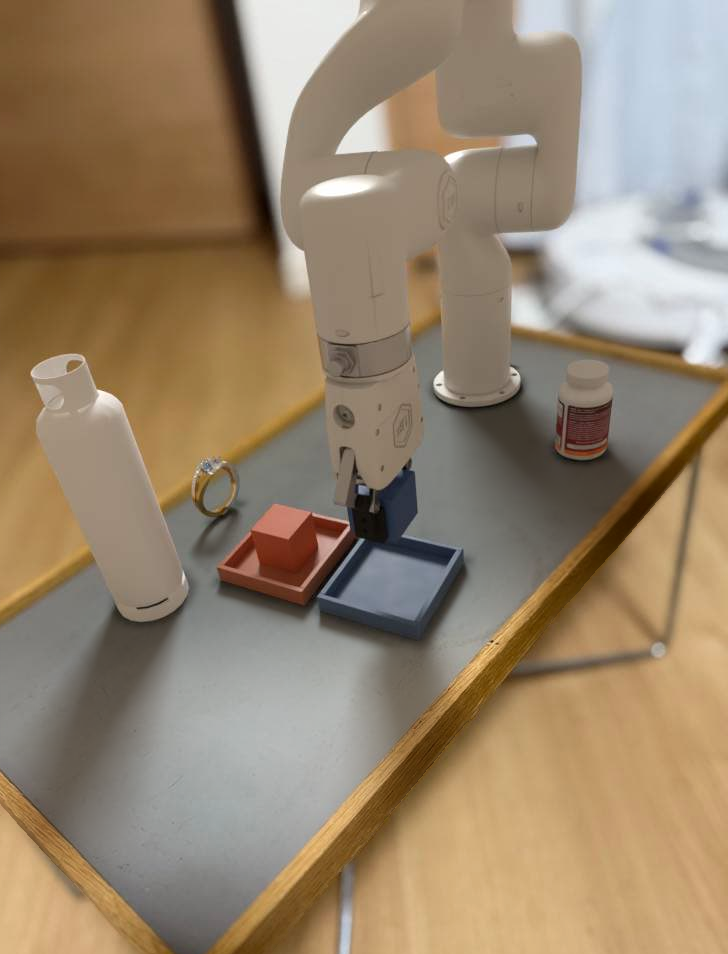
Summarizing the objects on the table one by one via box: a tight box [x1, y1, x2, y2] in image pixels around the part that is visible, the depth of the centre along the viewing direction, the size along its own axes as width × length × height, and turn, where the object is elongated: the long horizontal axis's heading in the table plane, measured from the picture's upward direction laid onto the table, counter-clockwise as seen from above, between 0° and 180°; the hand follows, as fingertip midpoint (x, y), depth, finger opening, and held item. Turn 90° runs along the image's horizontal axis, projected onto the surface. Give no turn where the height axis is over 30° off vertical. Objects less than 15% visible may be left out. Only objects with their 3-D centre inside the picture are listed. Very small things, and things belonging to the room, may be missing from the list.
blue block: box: [346, 469, 419, 543], centre depth 67 cm, size 5×5×5 cm
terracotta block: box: [249, 503, 318, 574], centre depth 78 cm, size 5×5×5 cm
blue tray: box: [316, 533, 465, 641], centre depth 74 cm, size 12×11×2 cm
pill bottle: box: [554, 359, 614, 461], centre depth 85 cm, size 6×6×11 cm
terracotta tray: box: [216, 512, 358, 607], centre depth 80 cm, size 12×11×2 cm
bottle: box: [30, 353, 190, 623], centre depth 70 cm, size 8×8×28 cm
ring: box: [191, 454, 241, 518], centre depth 86 cm, size 7×3×8 cm, turn 137°
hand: (384, 519), depth 69 cm, fingers closed on blue block, 5 cm apart
